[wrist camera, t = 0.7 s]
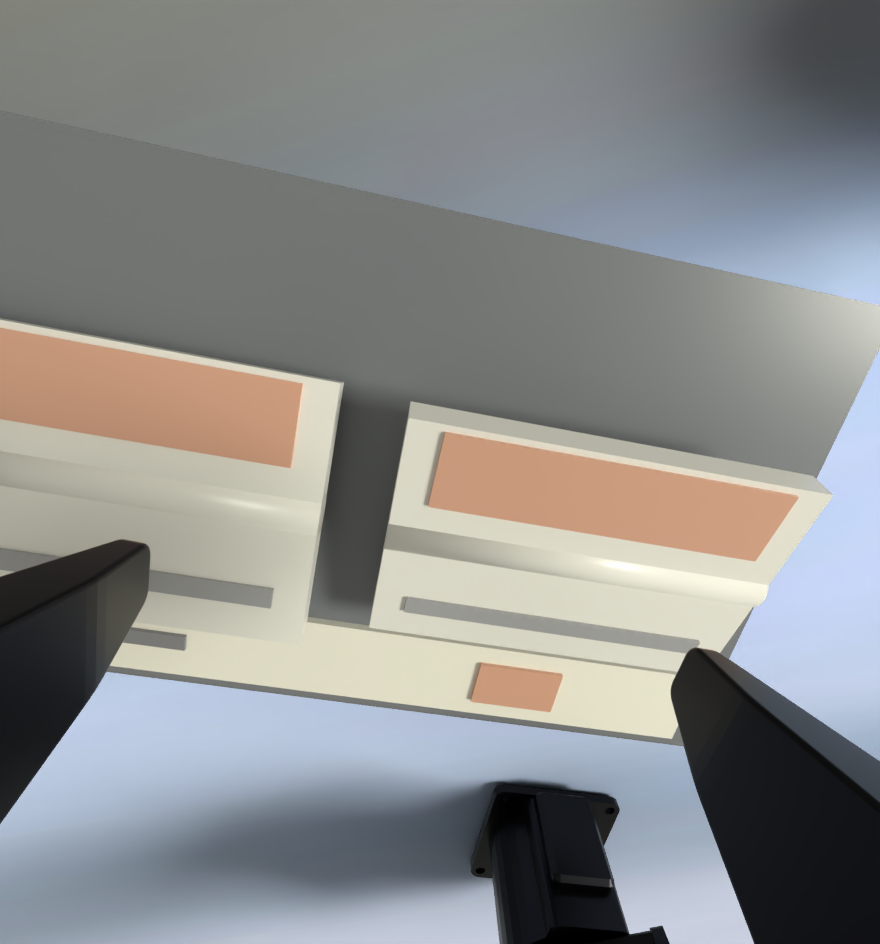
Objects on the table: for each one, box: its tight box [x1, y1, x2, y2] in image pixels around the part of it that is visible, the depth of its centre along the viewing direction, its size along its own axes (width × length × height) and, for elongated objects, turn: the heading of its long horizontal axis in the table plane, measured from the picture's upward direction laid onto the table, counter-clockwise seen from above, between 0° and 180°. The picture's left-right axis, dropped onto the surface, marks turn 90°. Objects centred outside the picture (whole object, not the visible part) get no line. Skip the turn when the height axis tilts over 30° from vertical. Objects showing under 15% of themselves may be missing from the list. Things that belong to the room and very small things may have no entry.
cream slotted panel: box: [369, 401, 833, 672], centre depth 17 cm, size 8×12×1 cm, turn 79°
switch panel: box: [0, 111, 880, 746], centre depth 19 cm, size 18×30×4 cm, turn 79°
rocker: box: [0, 318, 344, 645], centre depth 16 cm, size 8×12×1 cm, turn 79°
